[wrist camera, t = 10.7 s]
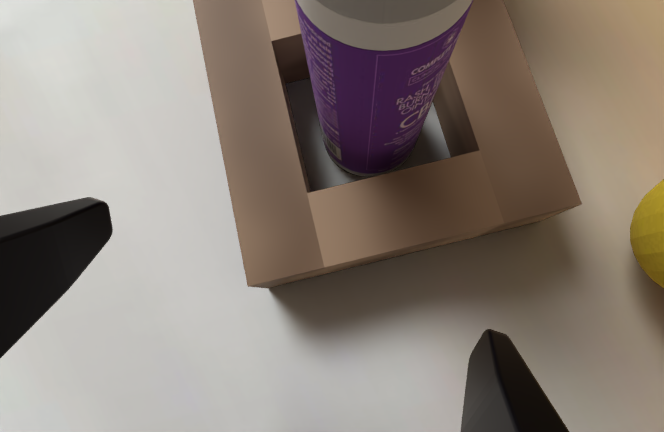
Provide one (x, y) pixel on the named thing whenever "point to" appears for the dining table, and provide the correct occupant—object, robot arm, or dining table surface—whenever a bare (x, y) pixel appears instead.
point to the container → (376, 73)
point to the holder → (383, 190)
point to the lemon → (650, 234)
